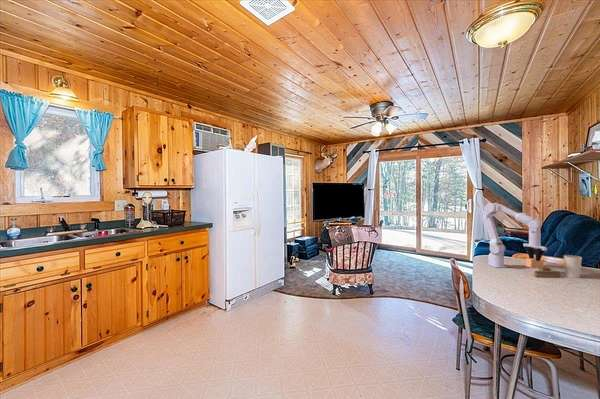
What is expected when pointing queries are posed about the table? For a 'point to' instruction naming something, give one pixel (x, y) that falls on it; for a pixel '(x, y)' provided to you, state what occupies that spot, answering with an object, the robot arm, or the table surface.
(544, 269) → the wooden l-shaped bracket
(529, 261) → the block
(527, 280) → the table surface
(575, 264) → the cup
